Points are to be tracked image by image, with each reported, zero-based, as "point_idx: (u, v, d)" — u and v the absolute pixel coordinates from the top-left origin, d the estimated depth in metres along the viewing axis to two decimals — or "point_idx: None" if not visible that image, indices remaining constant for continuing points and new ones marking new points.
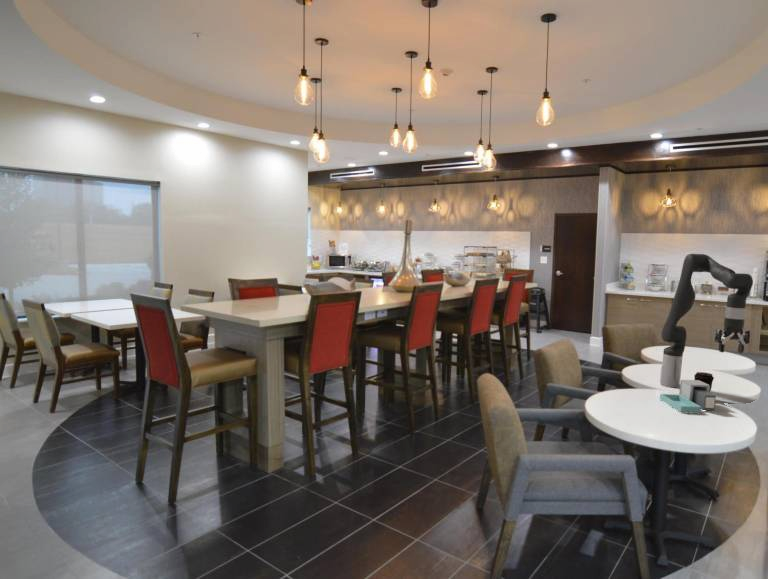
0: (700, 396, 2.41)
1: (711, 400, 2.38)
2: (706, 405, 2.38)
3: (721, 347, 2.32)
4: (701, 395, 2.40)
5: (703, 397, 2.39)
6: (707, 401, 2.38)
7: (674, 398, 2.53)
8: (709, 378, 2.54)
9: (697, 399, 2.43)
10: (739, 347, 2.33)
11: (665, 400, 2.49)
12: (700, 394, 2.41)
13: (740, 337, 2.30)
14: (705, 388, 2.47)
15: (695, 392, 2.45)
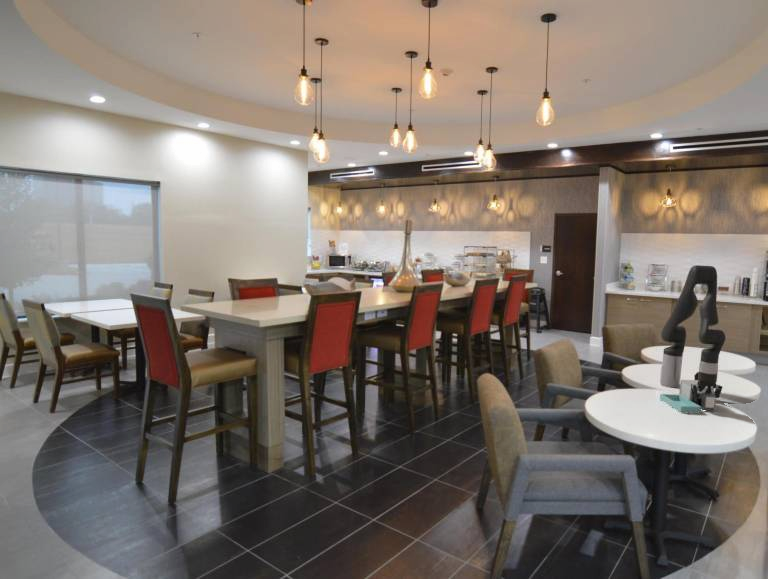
0: None
1: (711, 400, 2.38)
2: (707, 404, 2.38)
3: (698, 401, 2.41)
4: None
5: (703, 397, 2.39)
6: (707, 401, 2.38)
7: (674, 398, 2.53)
8: None
9: None
10: None
11: (665, 400, 2.49)
12: None
13: (712, 391, 2.40)
14: None
15: None
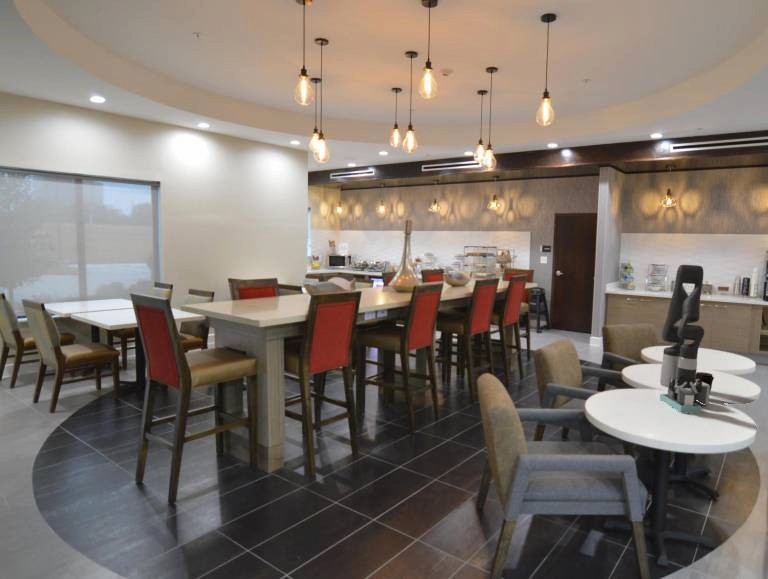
0: (679, 394, 2.41)
1: (690, 398, 2.37)
2: (685, 403, 2.38)
3: (674, 395, 2.40)
4: (681, 393, 2.40)
5: (682, 395, 2.39)
6: (686, 399, 2.37)
7: None
8: (709, 378, 2.54)
9: (677, 397, 2.43)
10: None
11: (665, 400, 2.49)
12: (679, 392, 2.41)
13: (692, 386, 2.39)
14: (705, 388, 2.47)
15: None
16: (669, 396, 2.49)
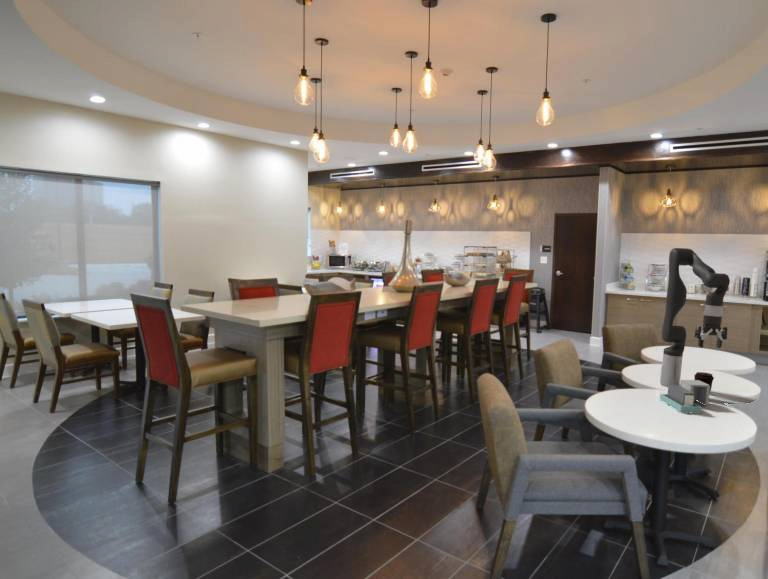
0: (679, 394, 2.41)
1: (690, 398, 2.37)
2: (685, 403, 2.38)
3: (700, 342, 2.47)
4: (681, 393, 2.40)
5: (682, 395, 2.39)
6: (686, 399, 2.37)
7: None
8: (709, 378, 2.54)
9: (677, 397, 2.43)
10: (717, 342, 2.48)
11: (665, 400, 2.49)
12: (679, 392, 2.41)
13: (718, 333, 2.45)
14: (705, 388, 2.47)
15: (674, 390, 2.45)
16: (669, 396, 2.49)
